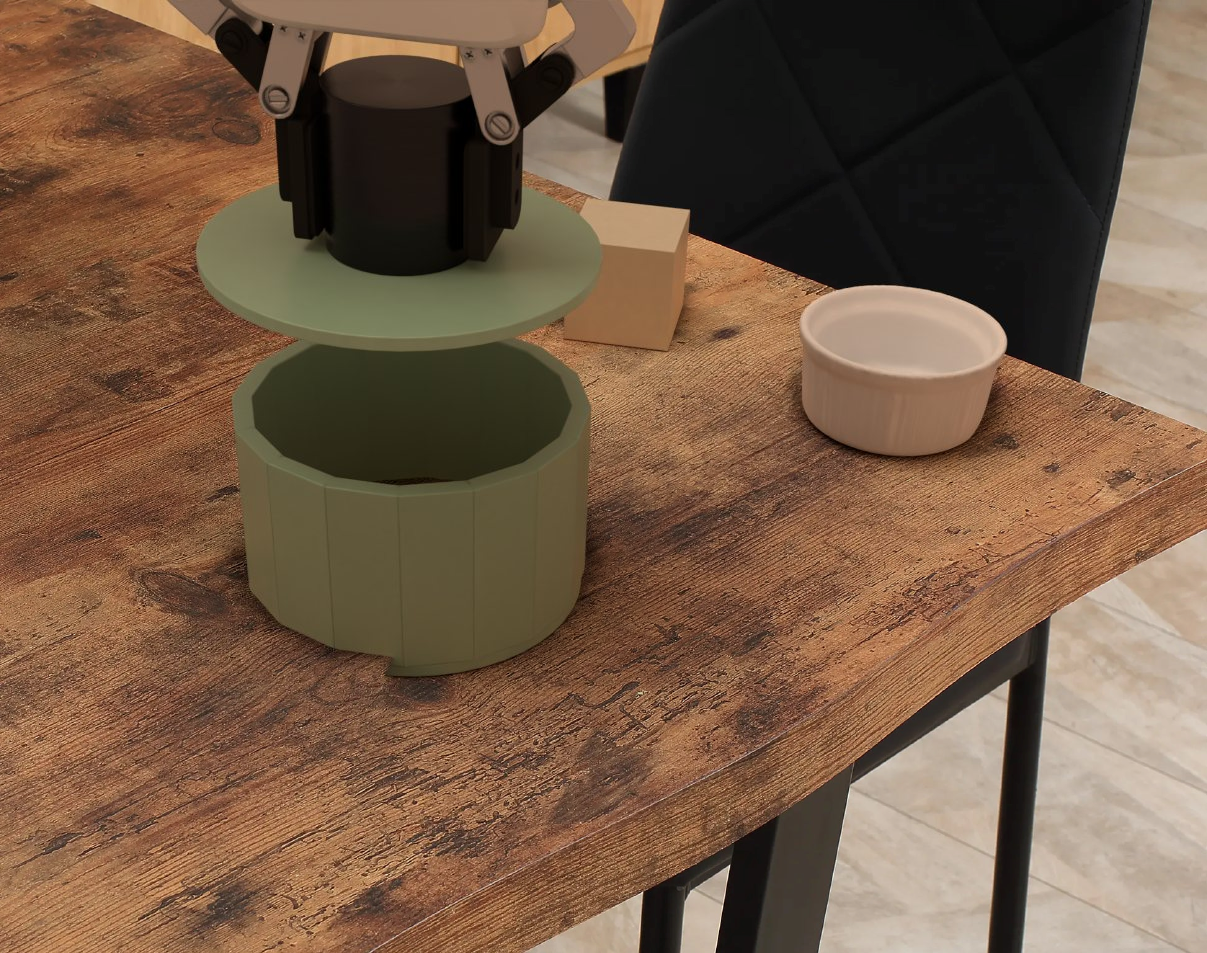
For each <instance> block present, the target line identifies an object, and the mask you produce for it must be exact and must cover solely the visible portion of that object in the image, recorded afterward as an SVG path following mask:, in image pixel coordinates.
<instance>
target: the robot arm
mask: <svg viewBox="0 0 1207 953" xmlns="http://www.w3.org/2000/svg"><path fill="white" fill-rule="evenodd" d="M166 1H167V2H168V3H169V4H170V5H171V6H172V7H173V8H175V10H177V11H178V12H179V13H180V14H181V15H182V16H183V17H184V18H186V19H187V20H188V21H189V22H190V23H191V24H192V25H193V26H195V27H196V28H197V29H198V30H199V31H200V32H201V33H202V34H203V35H205V36H209V37H210V38H211V39H212V40H213V41H214V43H215V46H216V48H217V50H218V51H219V53H220V54H221V55H222V56H223V57H224V58H225V59H226V60H227V62H229V64H231V66H232V67H233V68H234V69H235V70H236V71H237V72H238V73H239V74H240V75H241V76H242V77H243V78H244V80H245V81H246V82H247V83H248V84H249V85H250V86H251V87H252V88H253V89H254V91H256V93H257V94H258V97H257V99H258V103H259V106H260V107H261V109H262V111H263V112H264V113H265V114H266V115H267V116H268V117H269V116H270V117H271V118H273V119H274V127H275V128H274V129H275V145H276V162H277V176H278V178H277V179H278V183H279V193H280V197H281V199H282V201H286V202H292V213H293V231H294V236H295V238H299V239H307V240H312V239H313V238H314V237H315V236H316V237H318V236H319V235H320V234H321V232H322V231H323V230H324V229H325V215H324V193H323V171H322V149H321V127H320V105H319V83H318V80H319V77H320V75H321V74H322V73H323V72H324V71H325V67H326V63H327V58H328V55H329V51H330V47H331V43H332V39H333V37H334V36H333V35H334V34H335V33H336V34H341V35H351V36H358V37H359V36H360V37H368V38H376V39H385V40H394V41H403V42H412V43H413V42H415V43H423V44H432V45H441V46H450V47H457V49H458V51H459V55H460V58H461V62H462V67H463V68H464V70H465V73H466V77H467V81H468V84H469V88H470V92H471V95H472V99H473V102H474V106H475V110H476V113H477V117H476V118H475V132H474V133H473V134H472V135H471V136H470V138H469V139H468V141H467V142H466V144H465V147H464V167H463V253H464V255H466V256H468V257H469V260H472V261H480V262H486V261H487V259H488V257H489V255H490V254H491V252H492V250H493V248H494V247H495V245H496V243H497V241H498V240H499V238H500V236H501V234H502V232H503V230H504V229H511V230H514V229H515V227H516V225H517V223H518V221H519V217H520V212H521V204H522V186H523V168H524V167H523V166H524V162H523V161H524V129H525V128H527V127H528V126H529V125H530V124H531V123H532V122H533V121H535V120H536V119H537V118H538V117H540V116H541V115H542V114H543V113H545V111H547V110H548V109H549V108H551V106H553V105H554V104H555V103H556V102H557V101H558V100H560V99H561V98H562V97H563V96H564V95H566V94H567V93H568V92H569V90H570V89H571V88H572V87H574V86H576V85H577V84H578V83H580V82H581V81H582V80H585V79H588V77H590V76H591V75H593V74H594V73H596V72H597V71H599V70H600V69H602V68H604V66H606V65H607V64H609V63H610V62H613V60H615V59H617V58H618V57H620V56H621V55H623V54H624V53H625V52H626V51H627V50H628V49H629V46H630V45H631V44H632V41H633V39H634V38H635V35H636V33H637V23H636V20H635V18H634V16H633V15H632V13H631V12H630V10H629V9H628V7H627V5H625V3H624V1H623V0H166ZM559 4H562V6H563V7H564V9H565V10H566V12H567V14H569V16H570V17H571V19H572V22H573V25H574V30H572V31H571V32H569V33H568V35H566V36H565V37H563V38H562V39H561V40H559V41H557V42H554V43H552V44H550V45H549V46H548V47H547V48H546V49H545V50H544V51H542V52H541V53H540V54H539V55H538V56H537V57H535V59H533V60H532V61H531V62H530V63H529V60H528V56H527V53H526V52H527V51H526V48H525V44H528V43H530V42H532V41H533V40H536V39H537V38H538V37H539V36H540V34H541V33H542V32H543V30H544V27H545V25H546V22H547V16H548V10H549V9H552V8H554V7H556V6H558V5H559Z"/></svg>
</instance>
